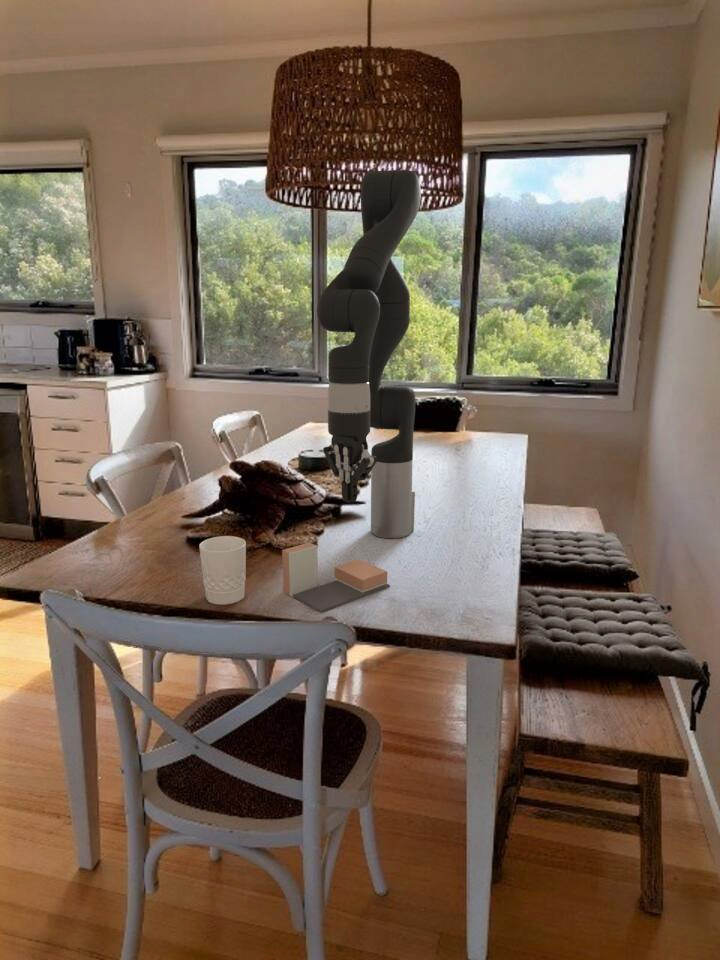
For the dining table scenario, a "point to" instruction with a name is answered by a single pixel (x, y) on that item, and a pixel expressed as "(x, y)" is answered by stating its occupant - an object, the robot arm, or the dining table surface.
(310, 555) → the tile
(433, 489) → the dining table surface
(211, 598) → the white cup
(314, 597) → the mat
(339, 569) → the tile
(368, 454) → the robot arm
